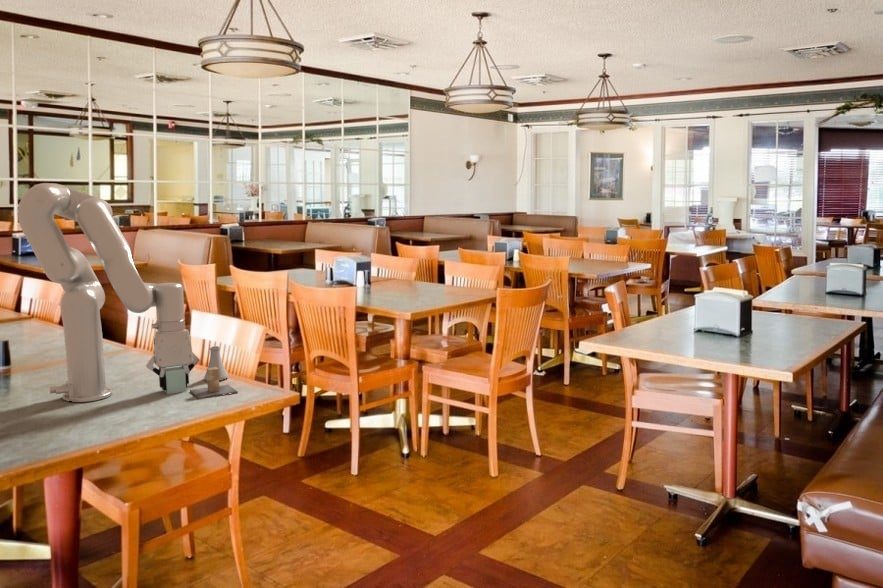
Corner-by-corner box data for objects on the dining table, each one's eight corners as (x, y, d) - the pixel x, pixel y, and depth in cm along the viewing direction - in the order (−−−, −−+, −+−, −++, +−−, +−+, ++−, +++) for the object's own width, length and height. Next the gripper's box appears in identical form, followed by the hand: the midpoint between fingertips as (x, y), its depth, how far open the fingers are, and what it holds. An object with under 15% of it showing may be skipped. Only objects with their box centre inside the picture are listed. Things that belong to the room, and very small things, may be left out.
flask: (221, 382, 228) (219, 350, 227) (199, 381, 230) (197, 349, 228) (232, 376, 235) (231, 345, 234) (211, 375, 237) (209, 344, 235)
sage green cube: (167, 394, 216) (166, 371, 215) (163, 390, 220) (162, 367, 219) (186, 391, 218) (185, 369, 218) (181, 387, 223) (180, 365, 222)
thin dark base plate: (198, 399, 211) (197, 374, 210) (190, 391, 218) (188, 367, 217) (237, 393, 217) (236, 369, 216) (228, 386, 224) (227, 363, 223)
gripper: (142, 331, 209) (146, 395, 212) (205, 325, 218) (208, 386, 221) (136, 327, 215) (140, 389, 218) (198, 321, 224) (201, 381, 227)
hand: (174, 387), depth 219 cm, fingers closed on sage green cube, 5 cm apart
